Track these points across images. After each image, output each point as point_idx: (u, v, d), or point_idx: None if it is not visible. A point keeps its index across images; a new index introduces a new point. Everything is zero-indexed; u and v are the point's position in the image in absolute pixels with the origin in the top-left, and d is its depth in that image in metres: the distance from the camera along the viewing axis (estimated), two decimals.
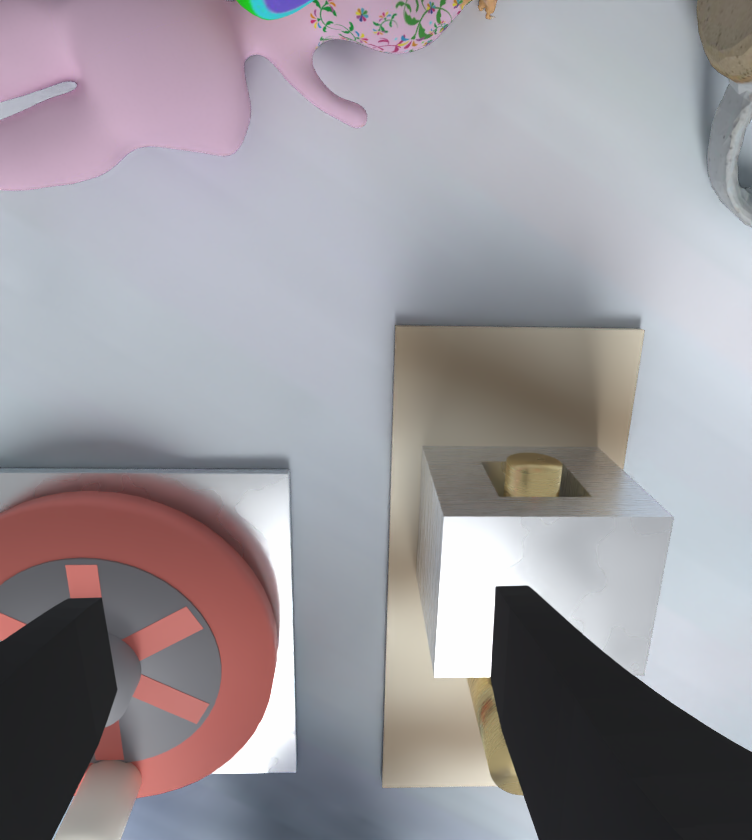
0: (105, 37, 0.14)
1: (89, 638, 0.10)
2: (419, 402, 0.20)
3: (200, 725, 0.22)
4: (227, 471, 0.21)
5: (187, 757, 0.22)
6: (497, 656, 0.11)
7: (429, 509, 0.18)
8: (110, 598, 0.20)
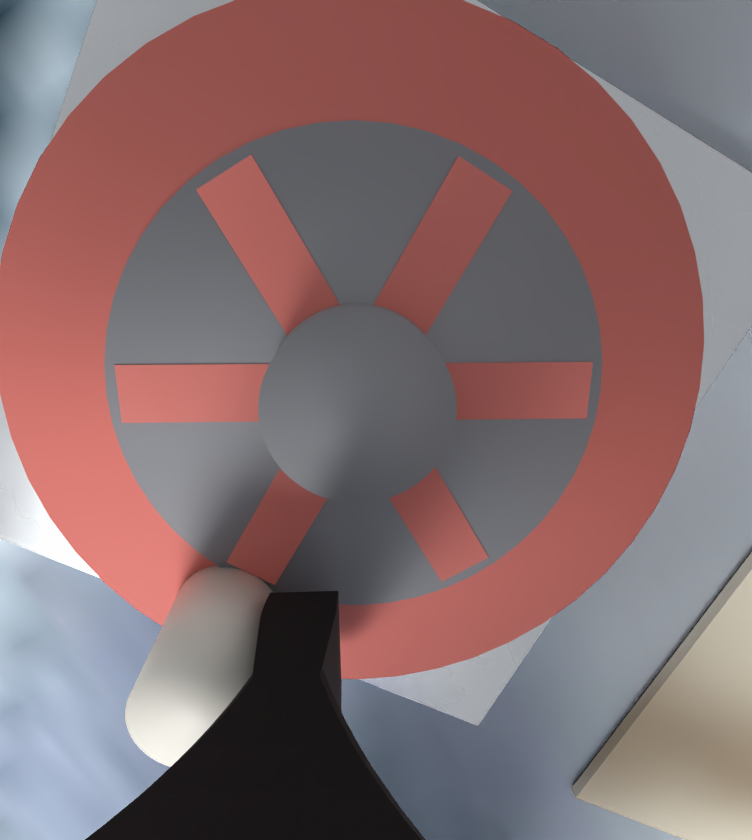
0: None
1: (337, 630, 0.10)
2: None
3: (442, 587, 0.12)
4: None
5: (376, 631, 0.12)
6: None
7: None
8: (485, 271, 0.10)
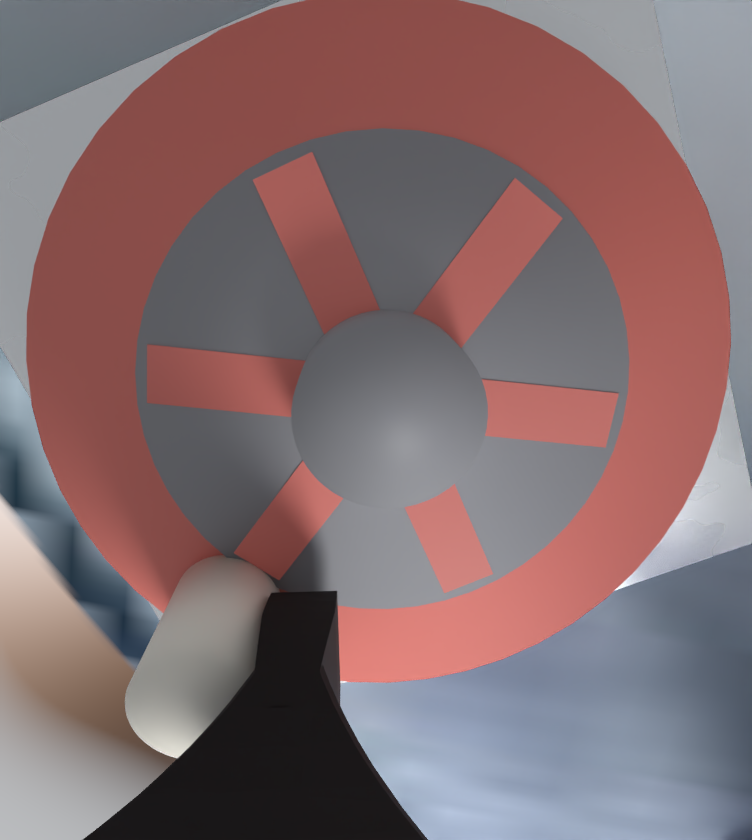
0: None
1: (336, 631, 0.10)
2: None
3: (443, 599, 0.12)
4: None
5: (372, 636, 0.12)
6: None
7: None
8: (526, 294, 0.10)
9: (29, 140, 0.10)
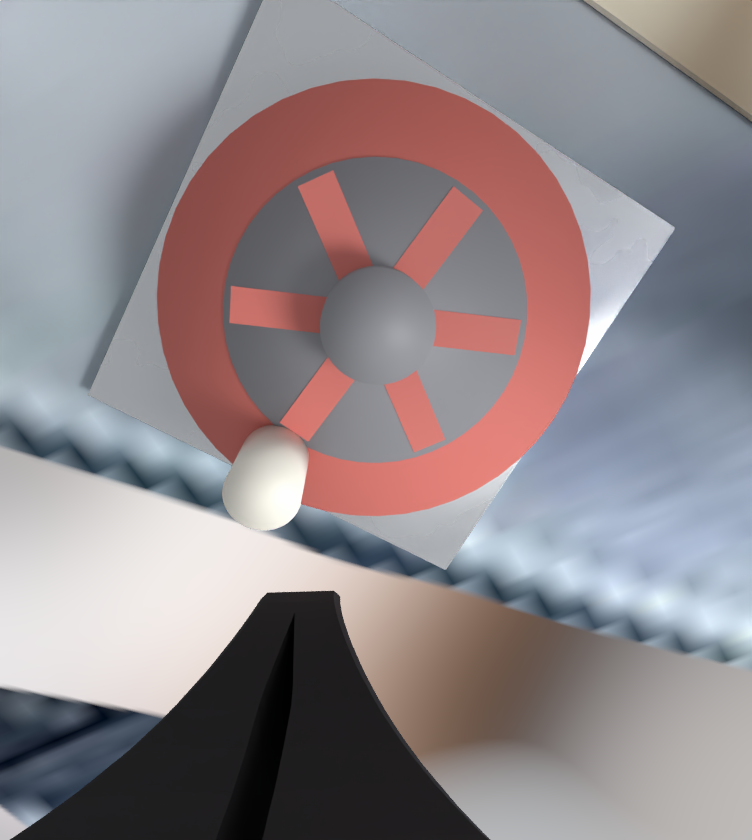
0: None
1: None
2: None
3: (413, 457, 0.18)
4: None
5: (367, 483, 0.18)
6: None
7: None
8: (461, 256, 0.16)
9: (130, 336, 0.18)
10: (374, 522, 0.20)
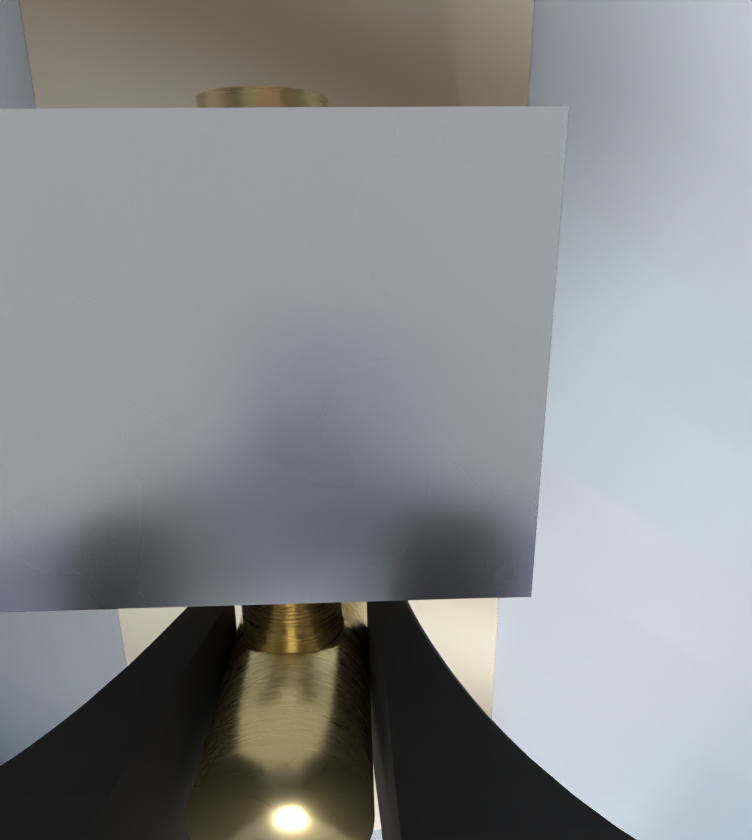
0: None
1: (227, 634, 0.10)
2: (83, 62, 0.10)
3: None
4: None
5: None
6: None
7: None
8: None
9: None
10: None
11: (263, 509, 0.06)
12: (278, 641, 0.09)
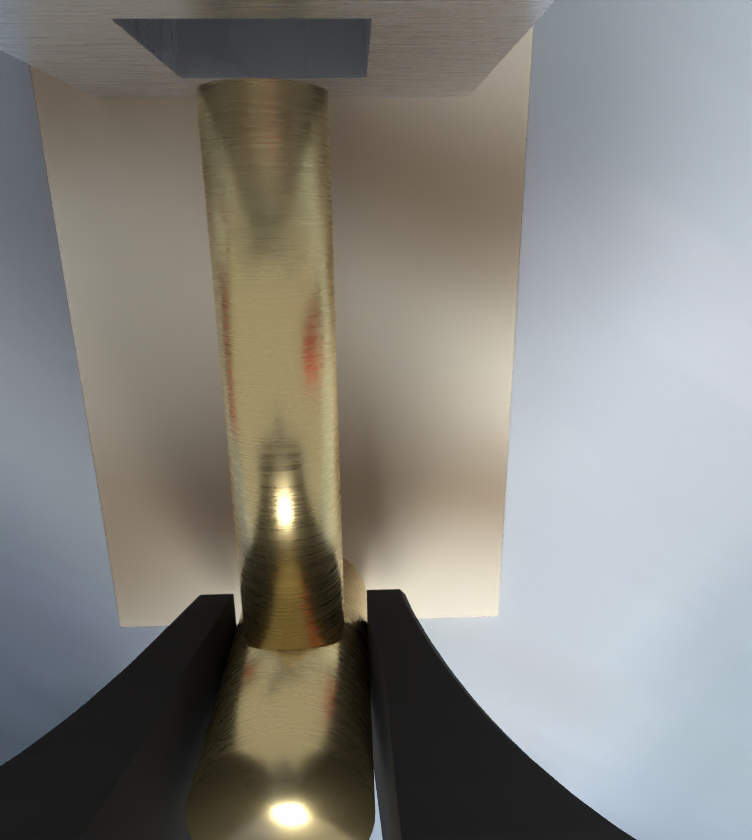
0: None
1: (227, 634, 0.10)
2: None
3: None
4: None
5: None
6: None
7: None
8: None
9: None
10: None
11: None
12: (278, 638, 0.09)
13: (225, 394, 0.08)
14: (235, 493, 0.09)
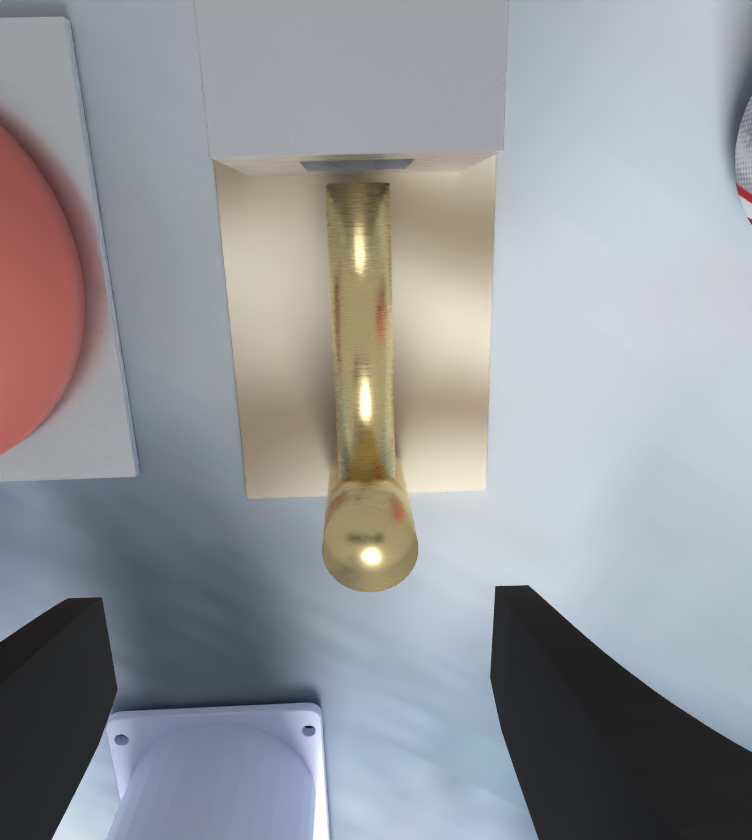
0: None
1: (89, 638, 0.10)
2: None
3: None
4: None
5: None
6: (497, 656, 0.11)
7: None
8: None
9: None
10: None
11: (358, 89, 0.12)
12: (361, 473, 0.16)
13: (335, 338, 0.16)
14: (339, 392, 0.16)
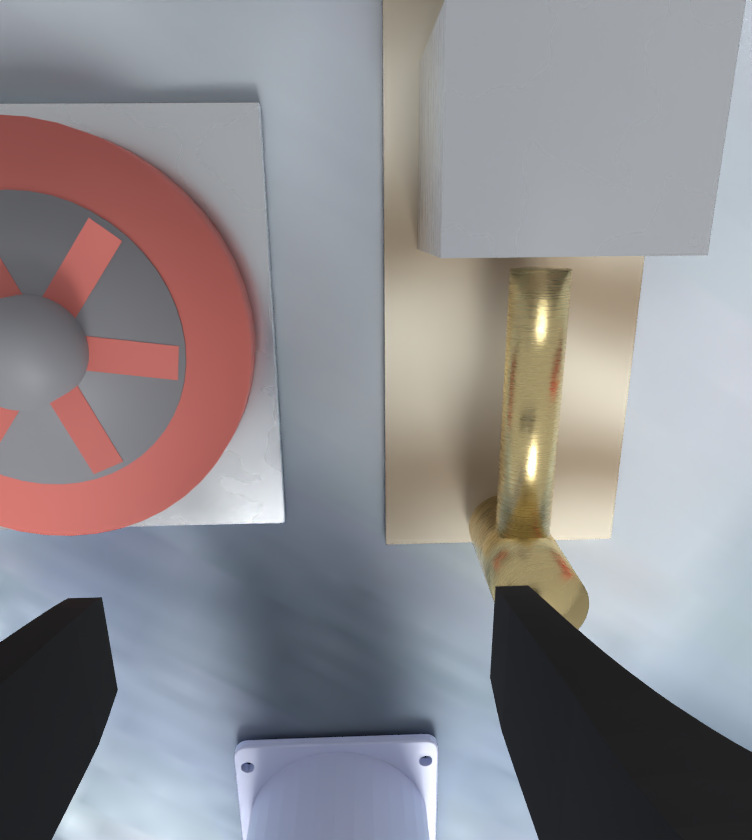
0: None
1: (89, 638, 0.10)
2: None
3: None
4: (185, 104, 0.17)
5: None
6: (497, 656, 0.11)
7: (429, 89, 0.15)
8: (134, 385, 0.18)
9: None
10: None
11: (583, 200, 0.13)
12: (525, 532, 0.18)
13: (510, 408, 0.17)
14: (508, 457, 0.17)
